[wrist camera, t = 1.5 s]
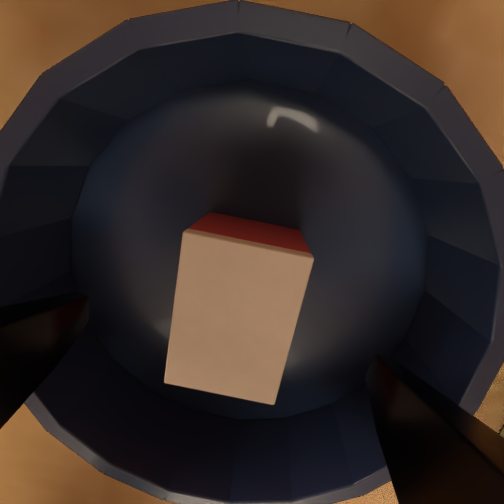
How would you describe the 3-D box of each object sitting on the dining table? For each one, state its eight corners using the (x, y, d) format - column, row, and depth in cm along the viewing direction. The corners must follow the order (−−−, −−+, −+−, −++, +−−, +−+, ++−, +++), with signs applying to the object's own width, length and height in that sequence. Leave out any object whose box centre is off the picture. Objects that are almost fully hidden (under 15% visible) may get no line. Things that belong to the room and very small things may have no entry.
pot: (367, 448, 16) (403, 550, 12) (63, 386, 16) (-11, 466, 12) (506, 114, 11) (655, 82, 7) (64, 24, 11) (-66, -65, 7)
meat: (273, 340, 14) (274, 406, 10) (192, 323, 14) (162, 383, 10) (300, 229, 12) (314, 258, 9) (209, 210, 12) (182, 231, 9)
